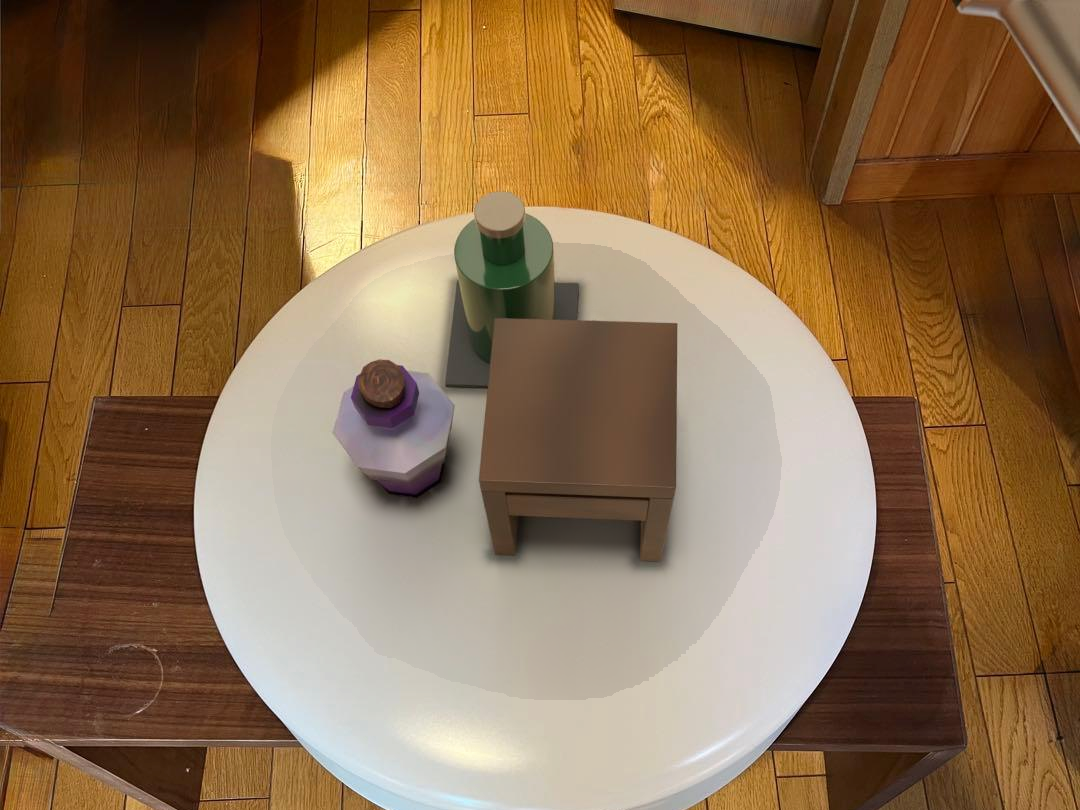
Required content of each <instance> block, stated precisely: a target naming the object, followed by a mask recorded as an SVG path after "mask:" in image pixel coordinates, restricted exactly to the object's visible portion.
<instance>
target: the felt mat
mask: <svg viewBox="0 0 1080 810" xmlns="http://www.w3.org/2000/svg"><path fill="white" fill-rule="evenodd" d="M579 290H580V283H579V282H555V302H556V320H578V307H579ZM453 303H454V304H453V313H452V321H451V329H450V339H449V346H448V355H447V363H446V372H445V380H444V381H445V382H444V385H445V387H447V388H473V389H474V388H476V389H477V388H478V389H488V379H489V369H490V364H488V363H486V362H485V361H483V360H482V359H481V358H480V357H479V356H478V355H477V354H476V353H475V351H474V350H473V348H472V346H471V343H470V339H469V334H468V328H467V323H466V317H465V312H464V306H463V301H462V295H461V290H460V284H459V279H457V280H456V287H455V294H454V302H453Z"/></svg>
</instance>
